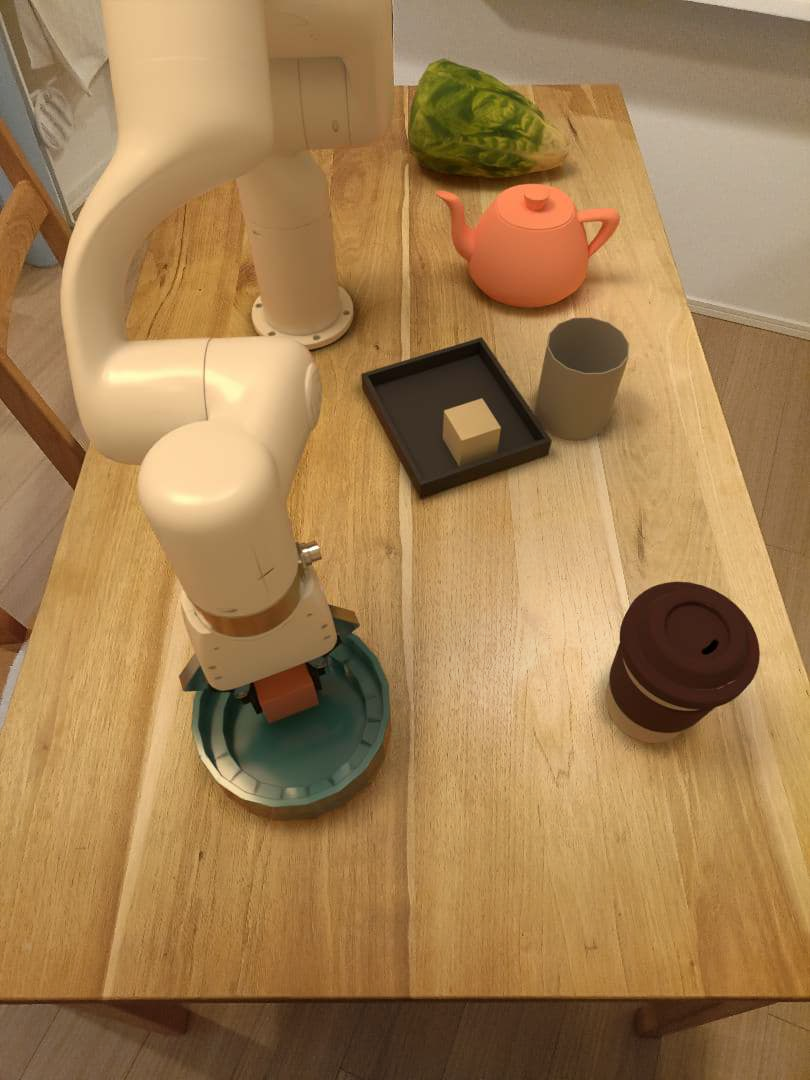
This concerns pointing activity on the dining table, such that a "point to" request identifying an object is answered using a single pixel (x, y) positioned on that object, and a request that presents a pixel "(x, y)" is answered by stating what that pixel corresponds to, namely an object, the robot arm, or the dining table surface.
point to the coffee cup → (678, 660)
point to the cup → (580, 377)
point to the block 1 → (286, 693)
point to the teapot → (529, 244)
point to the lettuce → (479, 126)
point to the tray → (442, 383)
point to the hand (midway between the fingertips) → (284, 685)
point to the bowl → (300, 741)
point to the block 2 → (471, 432)
